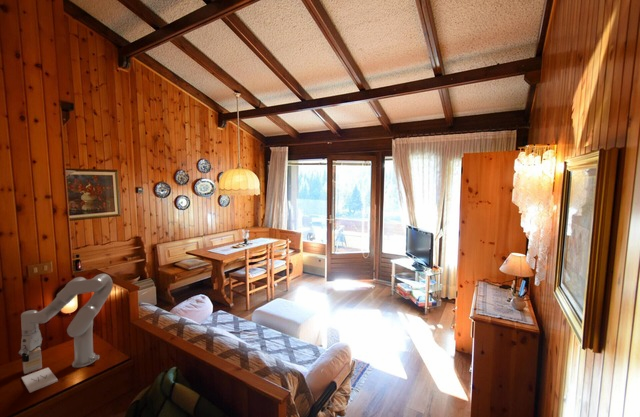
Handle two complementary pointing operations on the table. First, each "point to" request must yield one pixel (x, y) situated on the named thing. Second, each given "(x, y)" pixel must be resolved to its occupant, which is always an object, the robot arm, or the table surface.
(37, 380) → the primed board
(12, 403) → the table surface
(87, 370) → the table surface
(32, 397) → the table surface
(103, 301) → the robot arm
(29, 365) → the supplement box
